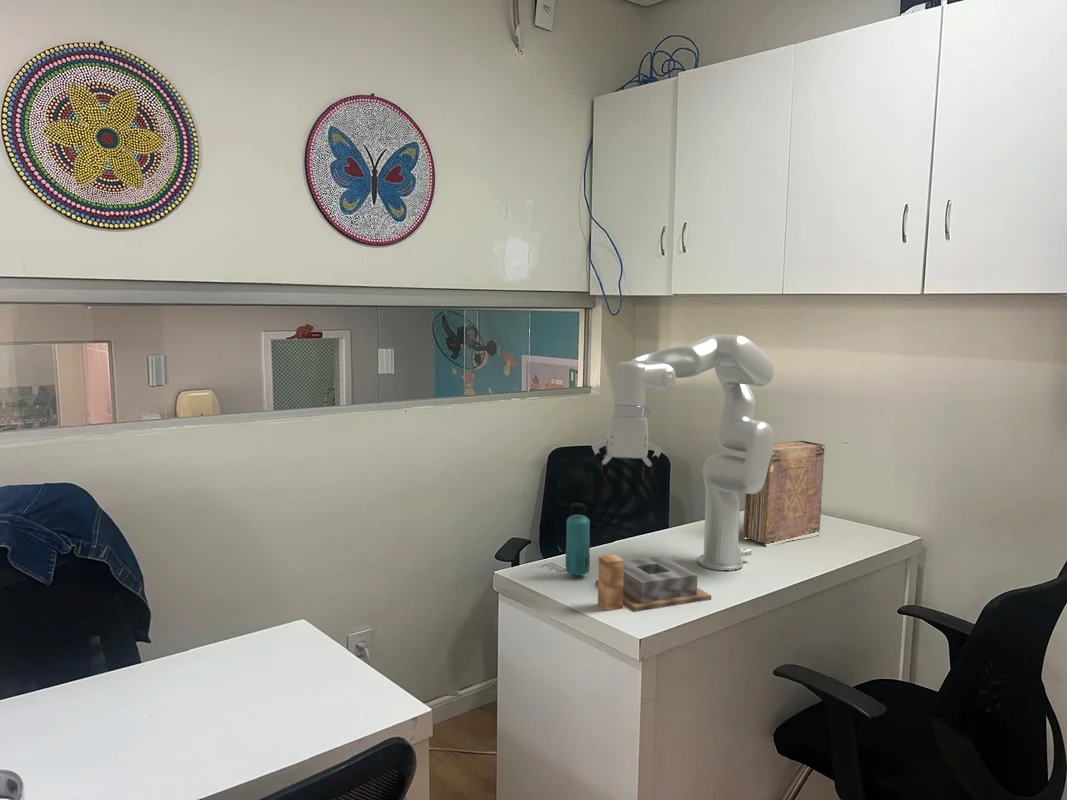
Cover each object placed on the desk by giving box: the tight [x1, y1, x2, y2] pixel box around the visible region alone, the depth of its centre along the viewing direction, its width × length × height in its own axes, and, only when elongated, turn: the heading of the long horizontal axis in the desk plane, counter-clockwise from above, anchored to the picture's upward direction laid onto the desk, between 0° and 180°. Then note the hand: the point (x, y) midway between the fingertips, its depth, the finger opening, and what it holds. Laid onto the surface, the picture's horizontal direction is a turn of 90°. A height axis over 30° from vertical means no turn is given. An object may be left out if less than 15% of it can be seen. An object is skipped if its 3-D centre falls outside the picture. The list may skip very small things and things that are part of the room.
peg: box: [597, 554, 625, 612], centre depth 188 cm, size 4×4×12 cm
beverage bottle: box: [565, 502, 591, 576], centre depth 208 cm, size 6×7×20 cm
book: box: [742, 440, 826, 545], centre depth 248 cm, size 25×9×30 cm, turn 122°
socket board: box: [595, 555, 712, 612], centre depth 199 cm, size 22×20×6 cm
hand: (625, 480), depth 193 cm, fingers open, 9 cm apart
